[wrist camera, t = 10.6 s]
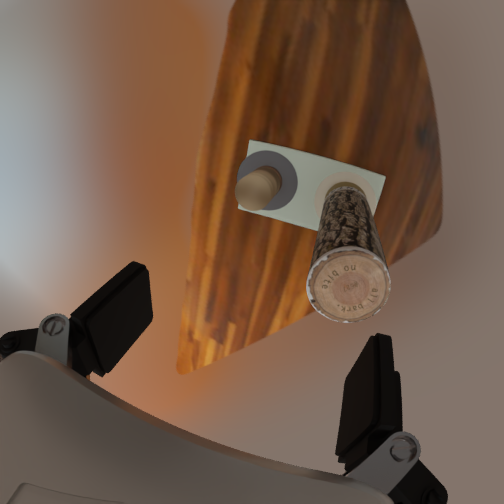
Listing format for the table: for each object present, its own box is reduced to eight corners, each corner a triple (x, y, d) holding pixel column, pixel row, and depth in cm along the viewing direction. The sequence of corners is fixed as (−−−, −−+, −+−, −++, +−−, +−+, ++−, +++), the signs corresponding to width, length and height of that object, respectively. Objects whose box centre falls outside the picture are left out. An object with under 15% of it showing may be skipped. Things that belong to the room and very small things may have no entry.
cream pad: (322, 163, 41) (322, 163, 41) (384, 182, 40) (384, 183, 40) (307, 222, 46) (307, 222, 46) (364, 239, 45) (365, 240, 44)
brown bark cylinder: (373, 211, 42) (401, 306, 21) (336, 228, 45) (327, 332, 24) (355, 173, 40) (372, 234, 19) (316, 192, 43) (290, 269, 22)
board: (245, 138, 44) (243, 138, 43) (384, 175, 40) (386, 177, 39) (234, 205, 50) (232, 207, 49) (362, 242, 46) (363, 245, 45)
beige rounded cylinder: (254, 162, 44) (237, 171, 37) (285, 169, 43) (274, 180, 37) (248, 191, 47) (232, 206, 40) (278, 199, 46) (266, 215, 39)
